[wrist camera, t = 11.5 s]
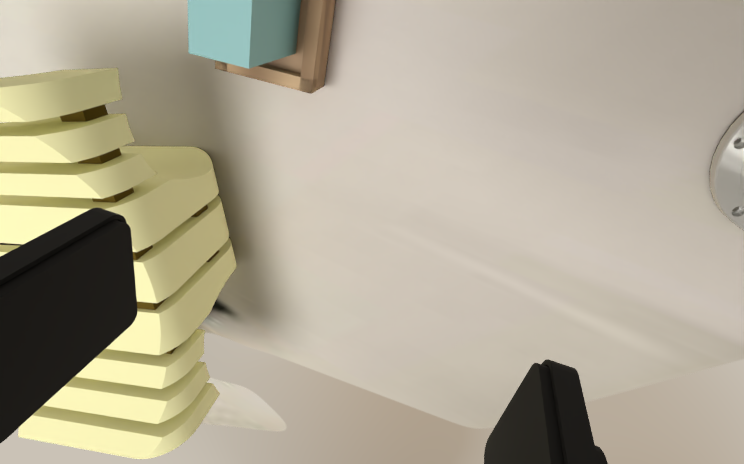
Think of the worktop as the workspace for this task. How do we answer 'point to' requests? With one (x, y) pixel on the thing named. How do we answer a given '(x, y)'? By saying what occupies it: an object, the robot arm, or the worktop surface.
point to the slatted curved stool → (150, 255)
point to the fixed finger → (243, 30)
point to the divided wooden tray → (299, 52)
